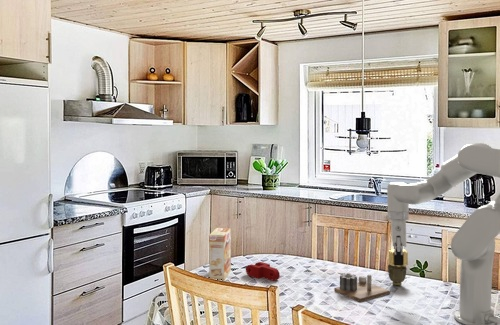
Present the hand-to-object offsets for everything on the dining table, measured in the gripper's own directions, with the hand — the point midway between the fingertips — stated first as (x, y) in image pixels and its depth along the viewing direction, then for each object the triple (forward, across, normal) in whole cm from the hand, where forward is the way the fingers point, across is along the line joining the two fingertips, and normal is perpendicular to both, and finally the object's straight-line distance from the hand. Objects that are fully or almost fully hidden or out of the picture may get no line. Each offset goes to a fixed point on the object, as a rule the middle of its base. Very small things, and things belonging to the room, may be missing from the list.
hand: (398, 262), depth 178 cm
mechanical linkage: (+13, +13, +56) cm, 59 cm away
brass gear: (+1, 0, 0) cm, 1 cm away
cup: (+14, +16, 0) cm, 21 cm away
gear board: (+14, +4, +14) cm, 20 cm away
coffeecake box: (+12, +11, +75) cm, 77 cm away
